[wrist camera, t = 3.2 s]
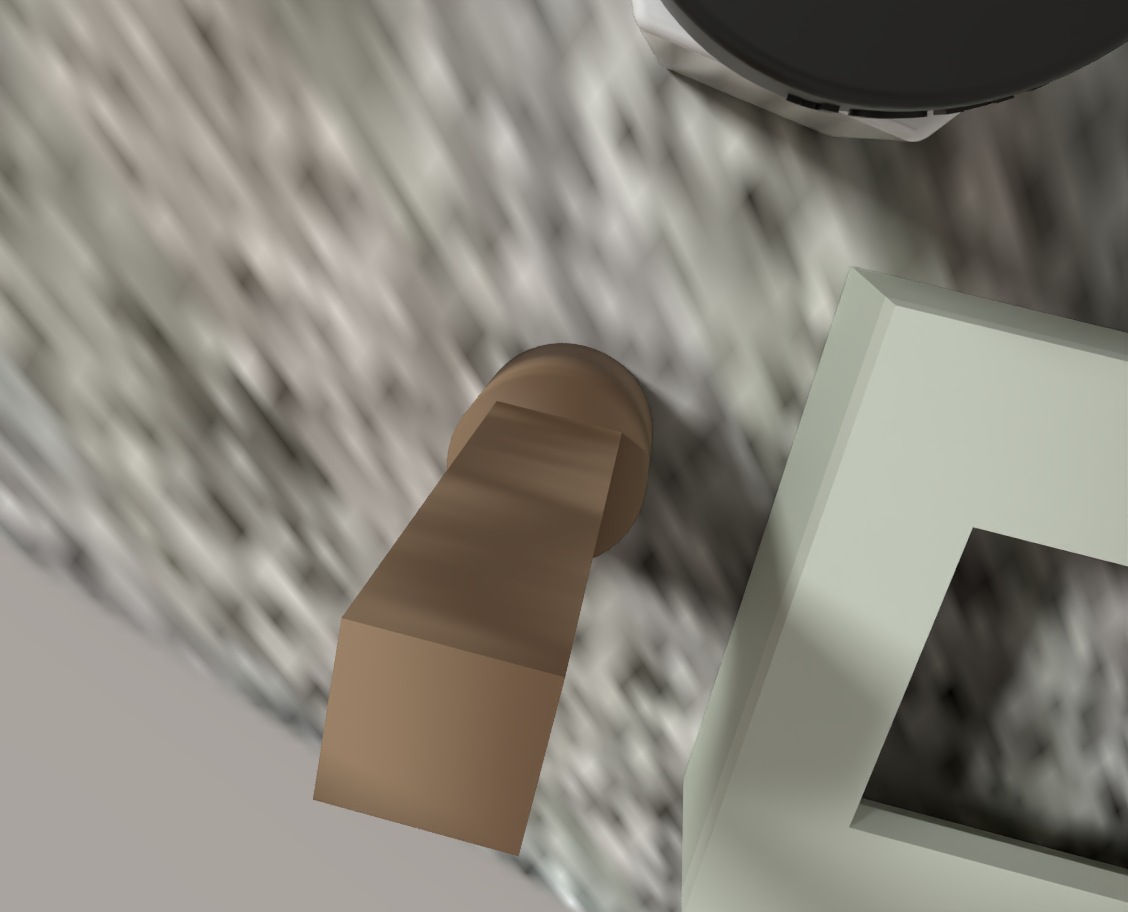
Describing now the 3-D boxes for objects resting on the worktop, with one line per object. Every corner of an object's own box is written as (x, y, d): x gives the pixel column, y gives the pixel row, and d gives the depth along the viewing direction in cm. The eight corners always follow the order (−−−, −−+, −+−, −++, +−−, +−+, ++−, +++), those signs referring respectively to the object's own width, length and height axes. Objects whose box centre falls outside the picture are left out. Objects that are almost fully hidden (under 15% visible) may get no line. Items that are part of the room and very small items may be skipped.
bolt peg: (464, 486, 27) (245, 832, 14) (496, 324, 25) (283, 539, 12) (629, 529, 27) (566, 921, 14) (672, 367, 25) (650, 635, 12)
